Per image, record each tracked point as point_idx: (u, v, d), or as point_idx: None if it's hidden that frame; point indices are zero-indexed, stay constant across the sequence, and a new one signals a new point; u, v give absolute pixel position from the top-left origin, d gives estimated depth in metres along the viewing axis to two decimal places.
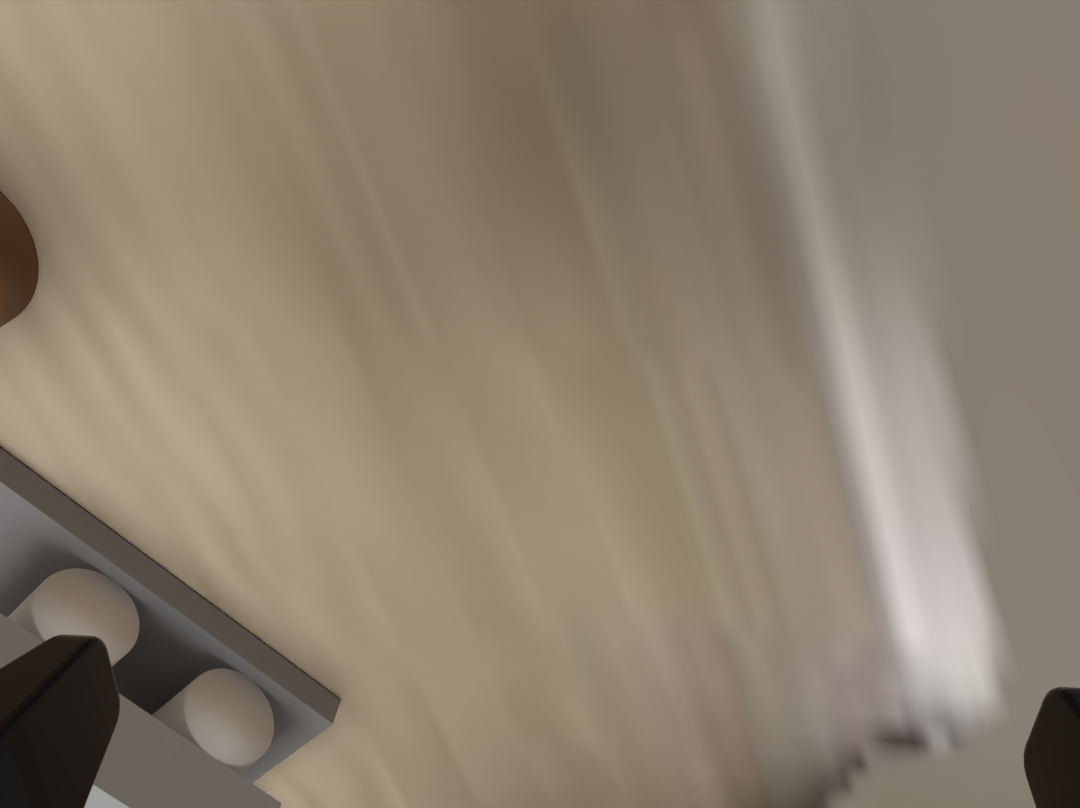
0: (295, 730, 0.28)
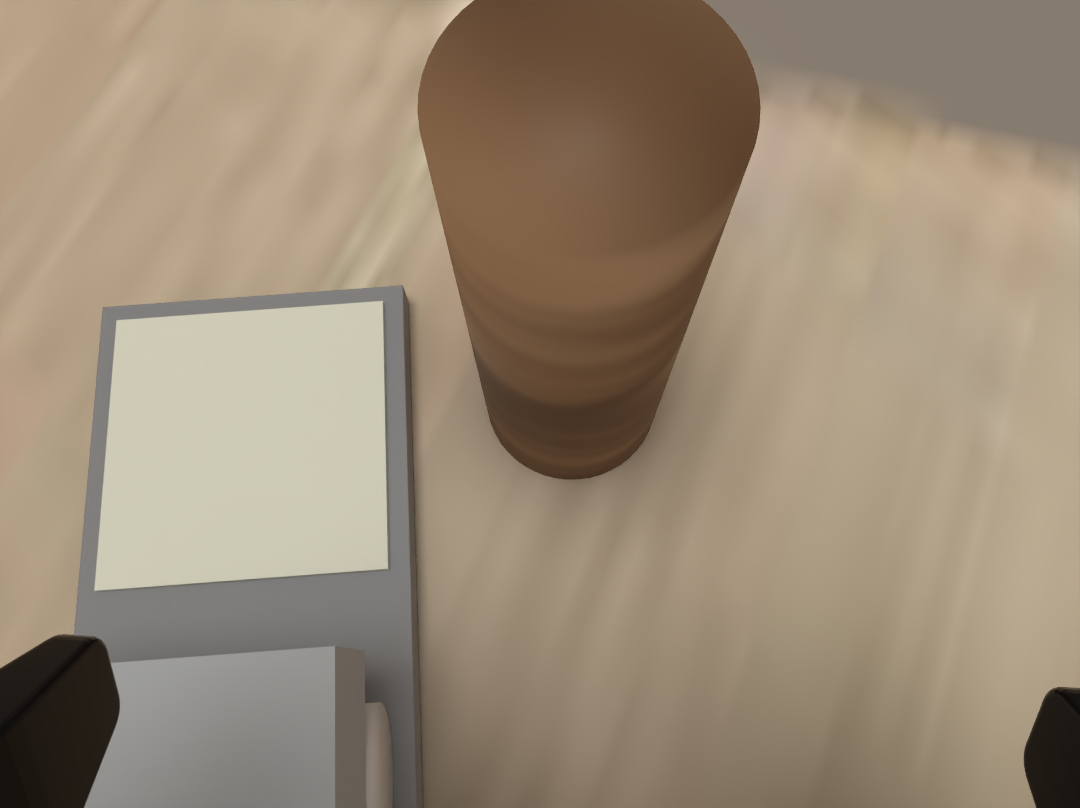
0: None
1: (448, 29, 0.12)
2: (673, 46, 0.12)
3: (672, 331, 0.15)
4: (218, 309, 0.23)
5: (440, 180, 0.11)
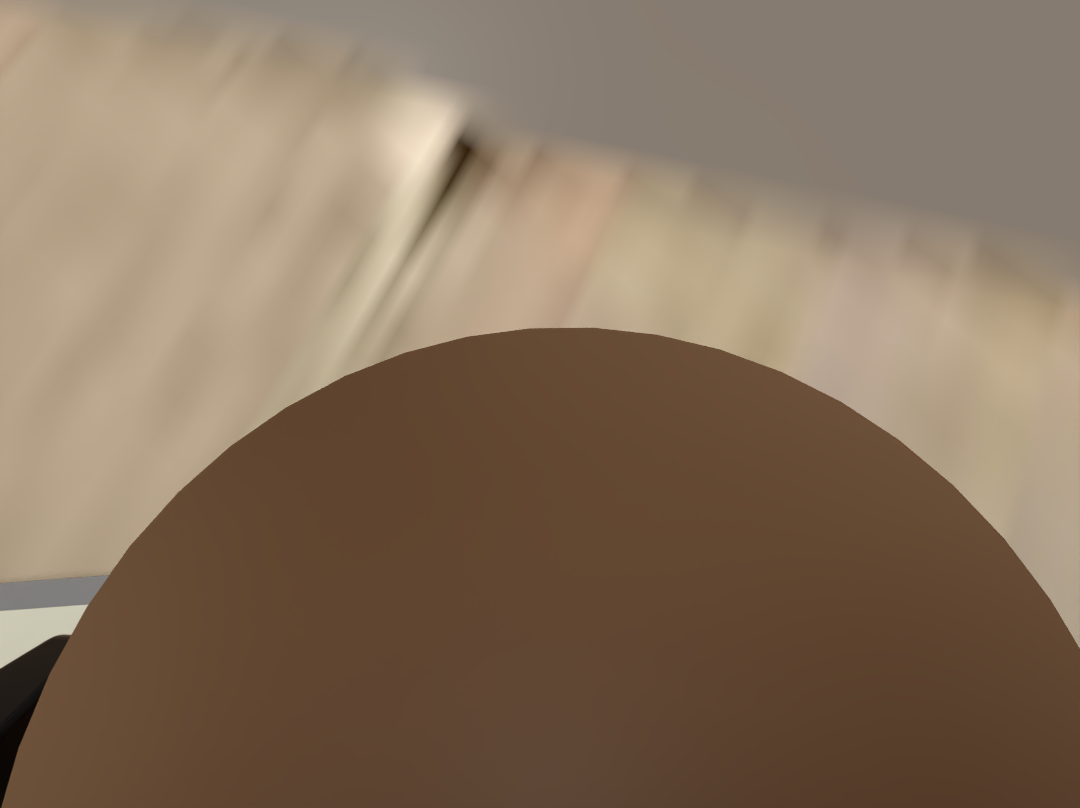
0: None
1: (137, 549, 0.04)
2: (851, 642, 0.04)
3: None
4: (10, 602, 0.15)
5: None
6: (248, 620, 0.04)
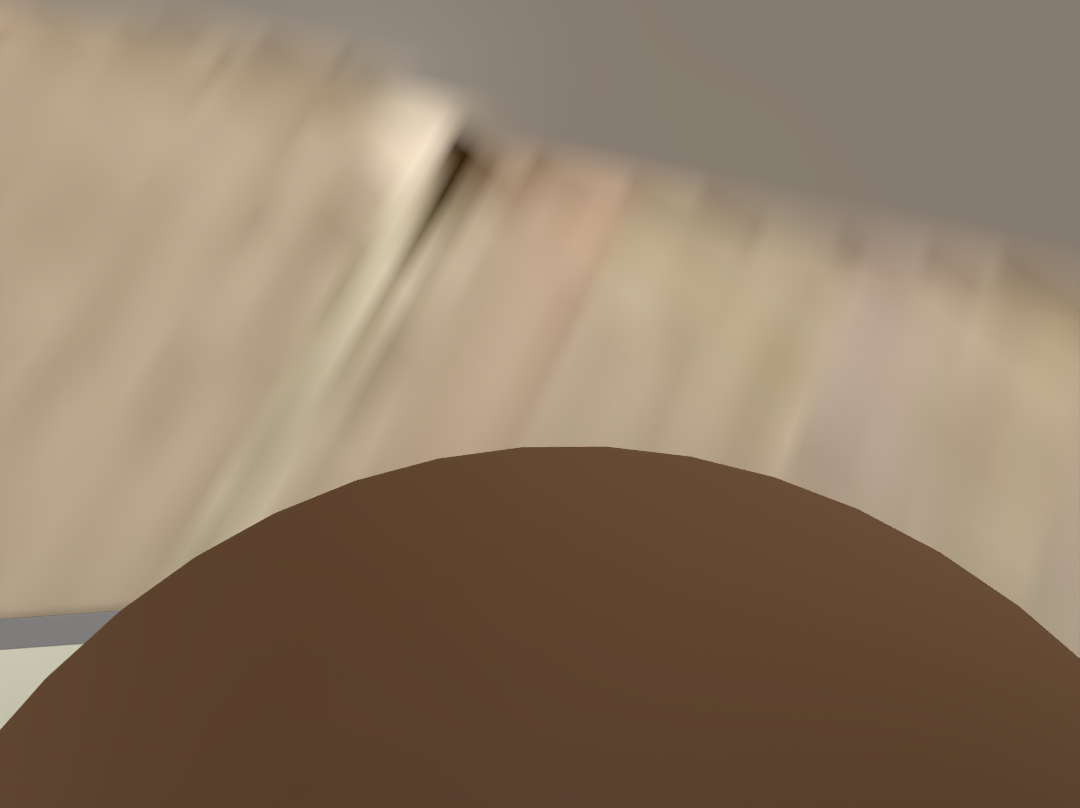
0: None
1: None
2: None
3: None
4: None
5: None
6: None
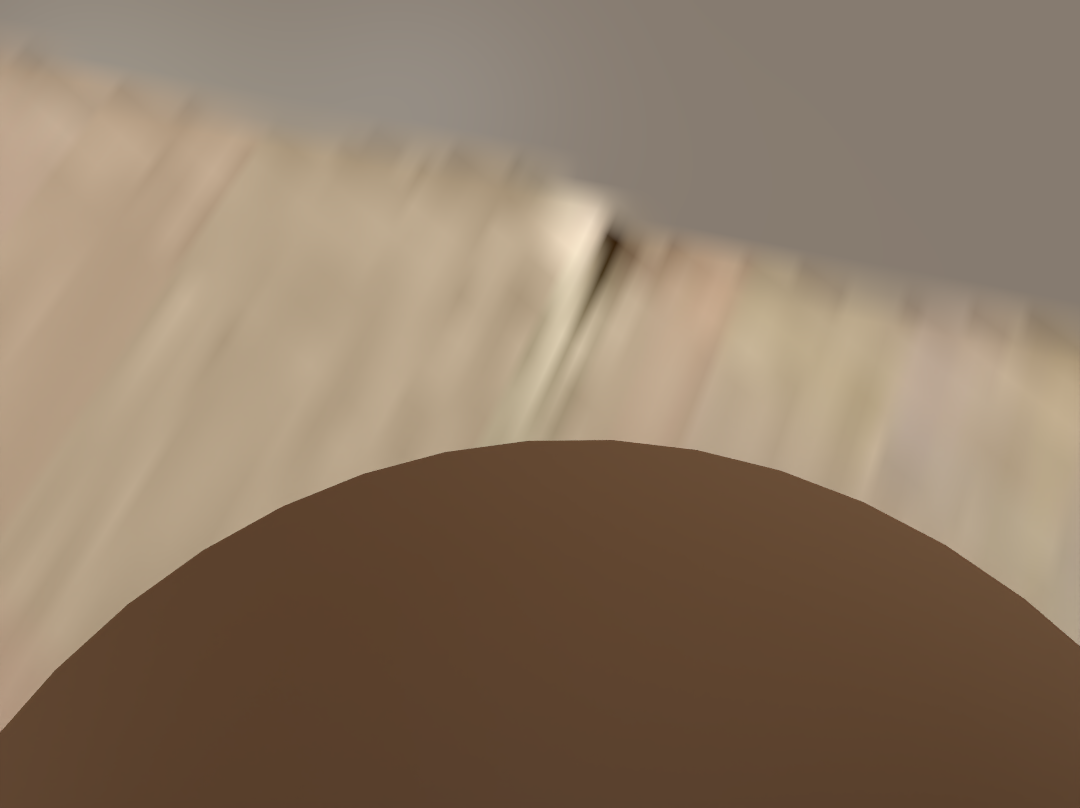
0: None
1: (1, 746, 0.03)
2: None
3: None
4: None
5: None
6: None
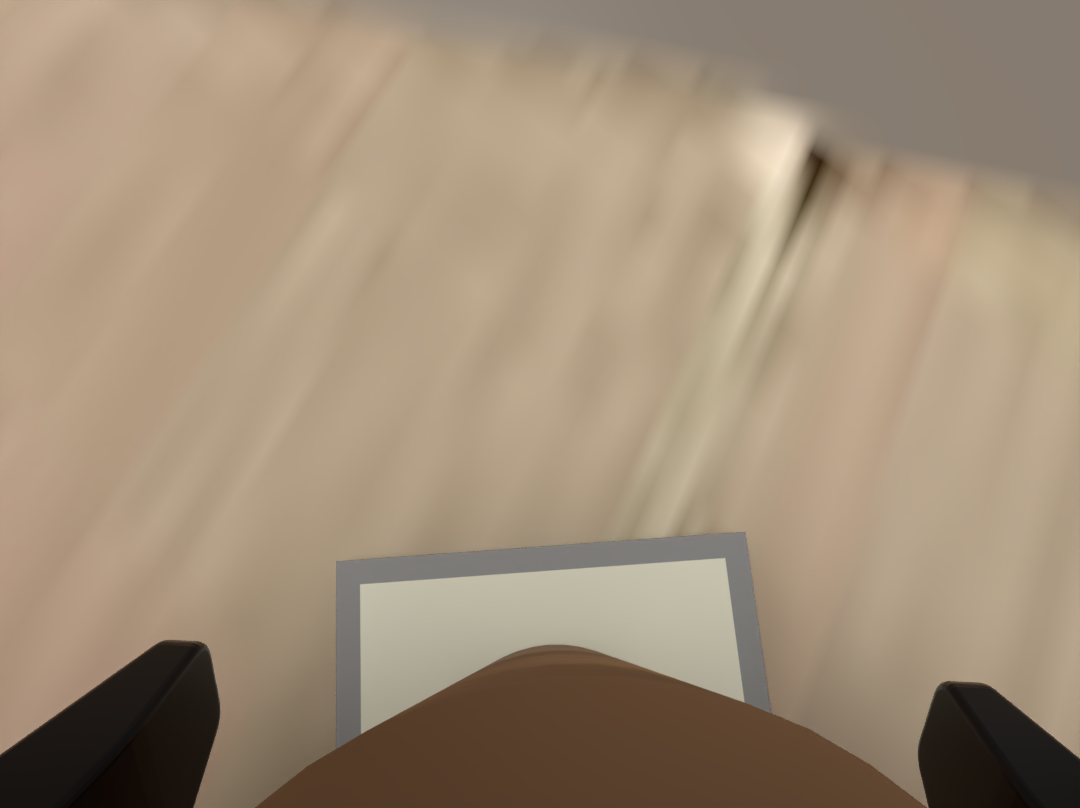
0: None
1: None
2: None
3: None
4: (497, 567, 0.17)
5: None
6: None
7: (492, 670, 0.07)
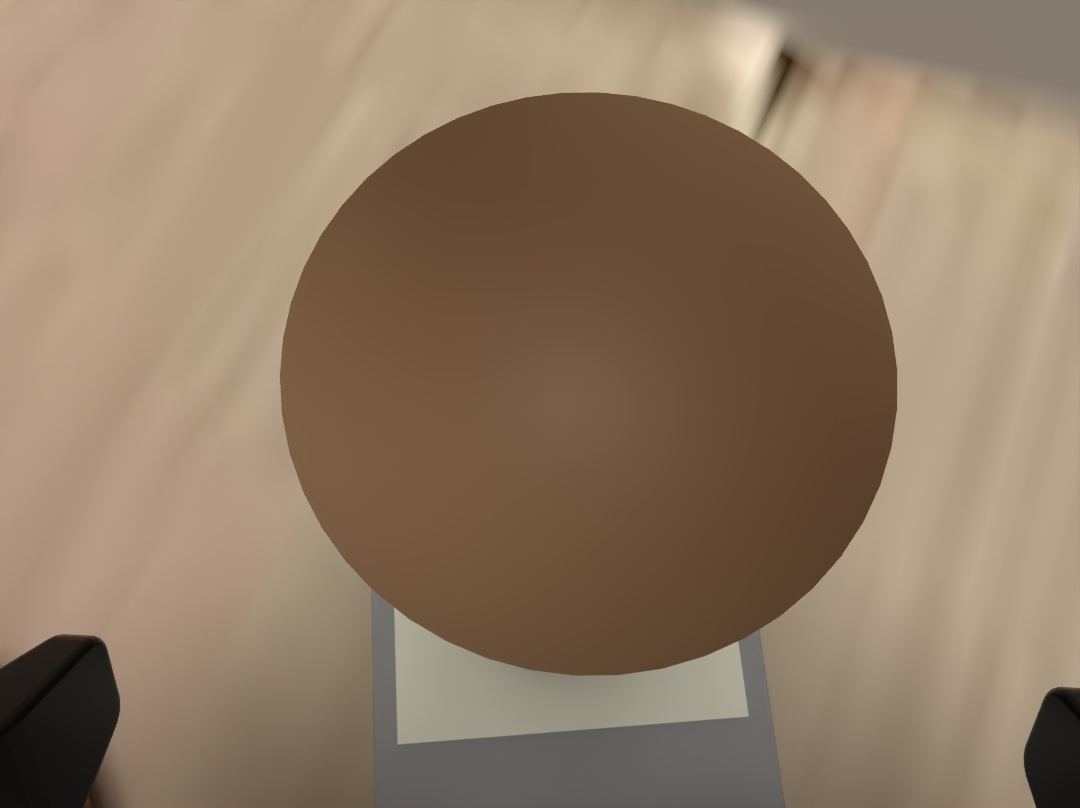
0: None
1: (344, 211, 0.07)
2: (738, 251, 0.07)
3: None
4: None
5: (316, 514, 0.06)
6: (410, 242, 0.07)
7: None
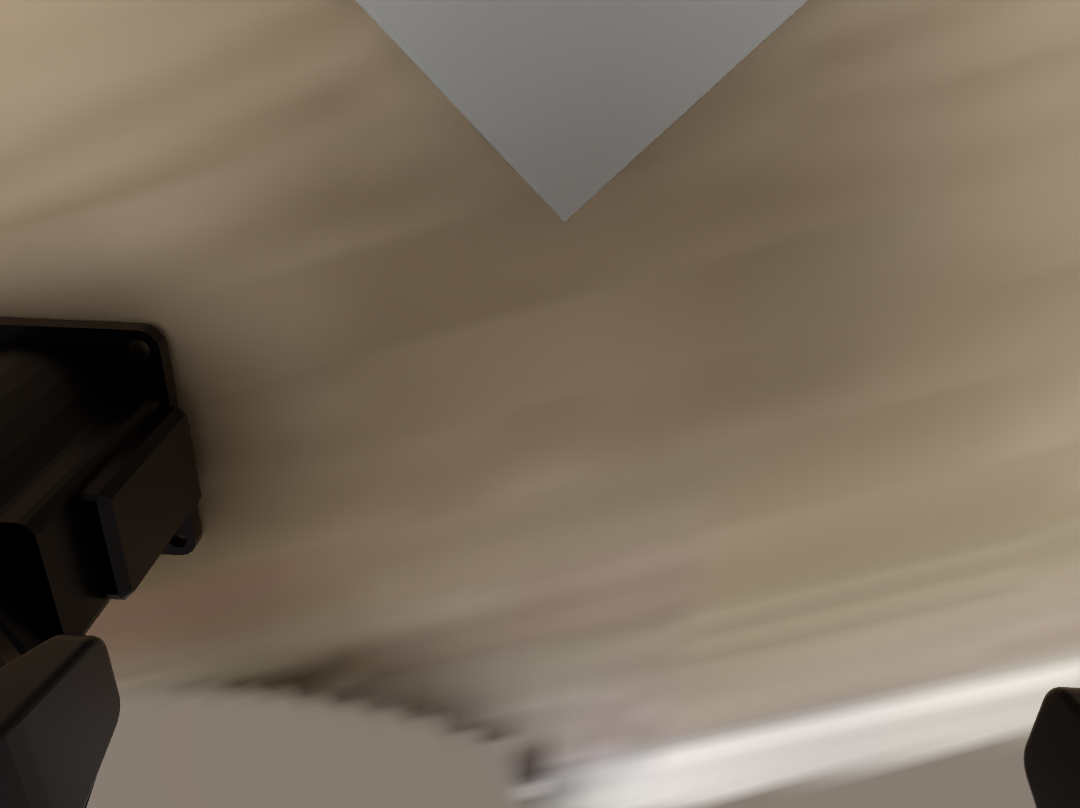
0: None
1: None
2: None
3: None
4: None
5: None
6: None
7: None
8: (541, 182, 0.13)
